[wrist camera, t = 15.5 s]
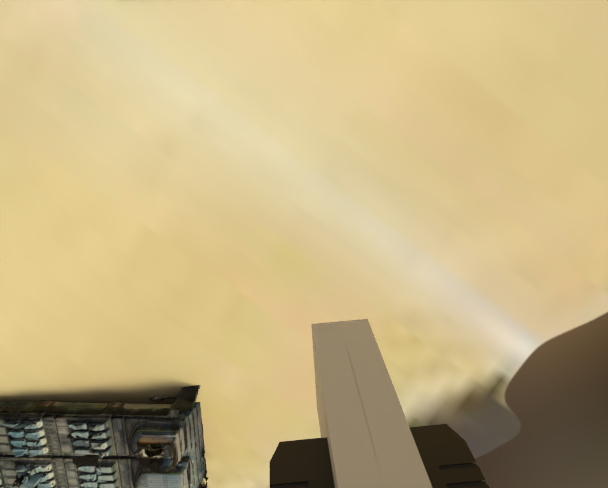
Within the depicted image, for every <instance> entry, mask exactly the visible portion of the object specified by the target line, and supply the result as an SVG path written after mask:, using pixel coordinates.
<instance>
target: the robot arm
mask: <svg viewBox="0 0 608 488" xmlns="http://www.w3.org/2000/svg"><path fill="white" fill-rule="evenodd" d="M312 337H313V352H314V368H315V383H316V398H317V410H318V418H319V425H320V432H321V438H315V439H305V440H295V441H285V442H280V443H279V445H278V447H277V449H276V451H275V453H274V455H273V457H272V459H271V461H270V488H489V486H488V485H487V484H486V481H485V478H484V476H483V474H482V472H481V471H480V468H479V467H478V466H477V465H476V461H475V459H474V457H473V455H472V453H471V451H470V449H469V447H468V445H467V443H466V442H465V440H464V439H462V438H461V437H460V436H459V435H458V434H457V433H456V432H455V431H454V430H452V429H451V428H450V427H449V426H448V425H447V424H440V425H430V426H420V427H410V428H409V425H408V423H407V420H406V418H405V415H404V412H403V410H402V407H401V405H400V402H399V399H398V397H397V394H396V392H395V389H394V386H393V384H392V381H391V379H390V376H389V373H388V371H387V368H386V366H385V363H384V360H383V358H382V355H381V353H380V350H379V347H378V345H377V342H376V340H375V337H374V334H373V332H372V329H371V327H370V324H369V321H368V319H363V320H352V321H341V322H330V323H319V324H312Z"/></svg>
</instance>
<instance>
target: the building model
mask: <svg viewBox="0 0 608 488" xmlns="http://www.w3.org/2000/svg"><path fill="white" fill-rule="evenodd" d="M198 389H200V385H198V386H189V387H184V388H182V391H181V394H180V395H179V397H178V398H174V397H170V398H166V397H164V396H162V397H156V398H155V396H152V397H150V399H151V400H152V401H155V400H158V399H159V400H162V401H163V400H166V399H177V400H176V401H175V402H174V403H173V404H126V403H125V402H121V403H118V402H109V403H72V402H55V401H40V402H15V401H0V488H202V484H200V483H202V479H203V478H205V479H206V481H207V479H208V478H207V477H206V474H207V471H206V461H205V457H204V453H205V451H204V439H203V425H202V418H201V408H200V403H197V402H196V403H195V401H196V398H197V395H198V391H199V390H198ZM148 449H149V450H150V451H149V450H148ZM159 449H162V451H157V450H159ZM204 488H207V482H206V486H205V487H204Z"/></svg>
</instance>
